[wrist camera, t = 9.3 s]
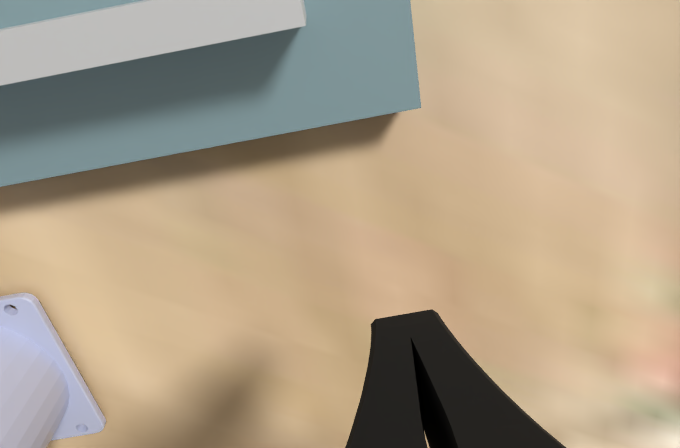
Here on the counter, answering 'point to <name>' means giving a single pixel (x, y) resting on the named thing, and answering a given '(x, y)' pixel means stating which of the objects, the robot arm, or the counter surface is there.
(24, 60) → the board
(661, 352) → the counter surface
